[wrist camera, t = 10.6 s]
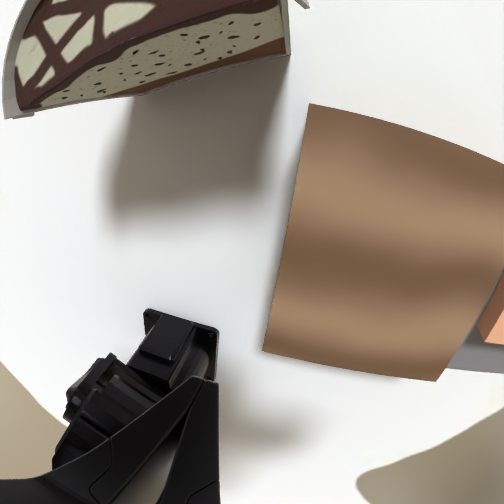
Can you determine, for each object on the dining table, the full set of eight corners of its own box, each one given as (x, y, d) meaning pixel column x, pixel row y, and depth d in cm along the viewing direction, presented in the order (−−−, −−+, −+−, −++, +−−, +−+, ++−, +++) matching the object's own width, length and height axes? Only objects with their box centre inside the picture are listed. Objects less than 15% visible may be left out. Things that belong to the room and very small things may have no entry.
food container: (292, -39, 11) (253, -142, 3) (317, 50, 14) (305, -15, 5) (110, 24, 15) (-10, 11, 6) (125, 102, 18) (-1, 124, 9)
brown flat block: (425, 342, 20) (435, 381, 17) (273, 312, 22) (262, 350, 19) (500, 162, 14) (534, 179, 10) (312, 104, 15) (309, 103, 12)
